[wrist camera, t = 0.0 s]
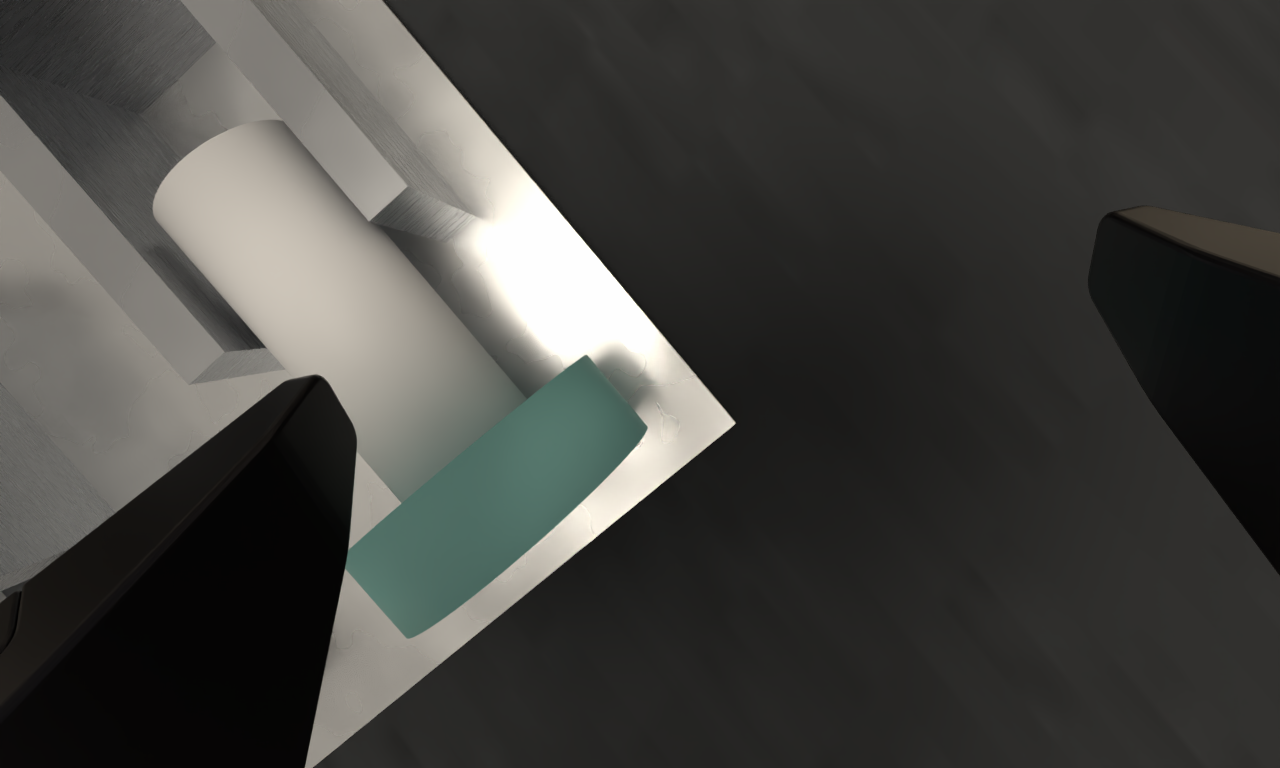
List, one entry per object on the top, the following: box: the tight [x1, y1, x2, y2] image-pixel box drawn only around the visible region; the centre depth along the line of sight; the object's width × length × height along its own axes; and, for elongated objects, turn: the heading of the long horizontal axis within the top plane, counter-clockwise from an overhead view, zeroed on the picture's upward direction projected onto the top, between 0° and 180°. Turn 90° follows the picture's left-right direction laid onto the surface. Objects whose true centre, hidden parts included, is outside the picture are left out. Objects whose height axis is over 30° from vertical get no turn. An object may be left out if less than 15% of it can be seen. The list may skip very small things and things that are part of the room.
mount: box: [0, 0, 736, 768], centre depth 21 cm, size 22×26×7 cm
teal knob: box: [153, 120, 648, 639], centre depth 19 cm, size 11×8×8 cm
